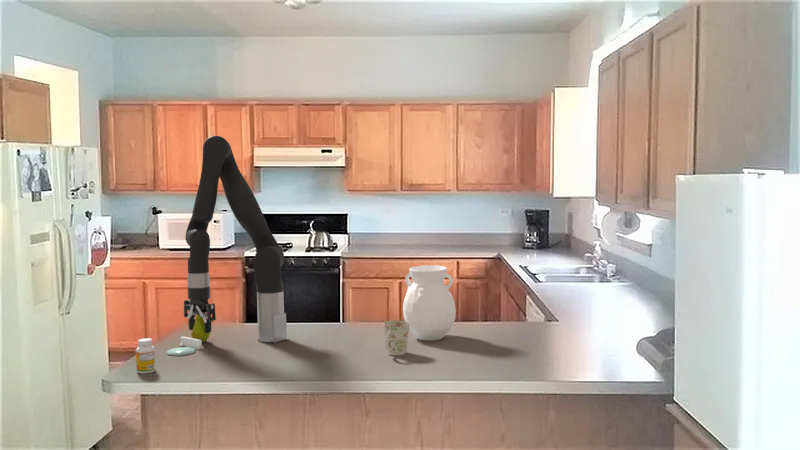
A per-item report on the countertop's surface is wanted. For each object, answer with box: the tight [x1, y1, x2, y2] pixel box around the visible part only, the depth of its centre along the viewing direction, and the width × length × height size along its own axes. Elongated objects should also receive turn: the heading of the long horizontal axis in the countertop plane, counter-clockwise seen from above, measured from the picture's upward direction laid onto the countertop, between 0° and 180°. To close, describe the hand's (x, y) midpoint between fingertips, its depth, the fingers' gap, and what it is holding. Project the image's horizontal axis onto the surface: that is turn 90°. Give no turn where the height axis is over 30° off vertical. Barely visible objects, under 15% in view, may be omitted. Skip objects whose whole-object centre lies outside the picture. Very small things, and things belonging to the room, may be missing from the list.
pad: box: [166, 346, 196, 357], centre depth 250 cm, size 9×9×1 cm
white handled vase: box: [402, 264, 457, 342], centre depth 266 cm, size 19×18×25 cm
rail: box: [178, 335, 205, 351], centre depth 257 cm, size 10×2×3 cm, turn 54°
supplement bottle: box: [135, 337, 156, 375], centre depth 227 cm, size 5×5×10 cm
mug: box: [383, 320, 410, 357], centre depth 243 cm, size 8×13×10 cm, turn 161°
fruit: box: [191, 314, 211, 344], centre depth 264 cm, size 6×6×12 cm
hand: (199, 331), depth 264 cm, fingers open, 8 cm apart
